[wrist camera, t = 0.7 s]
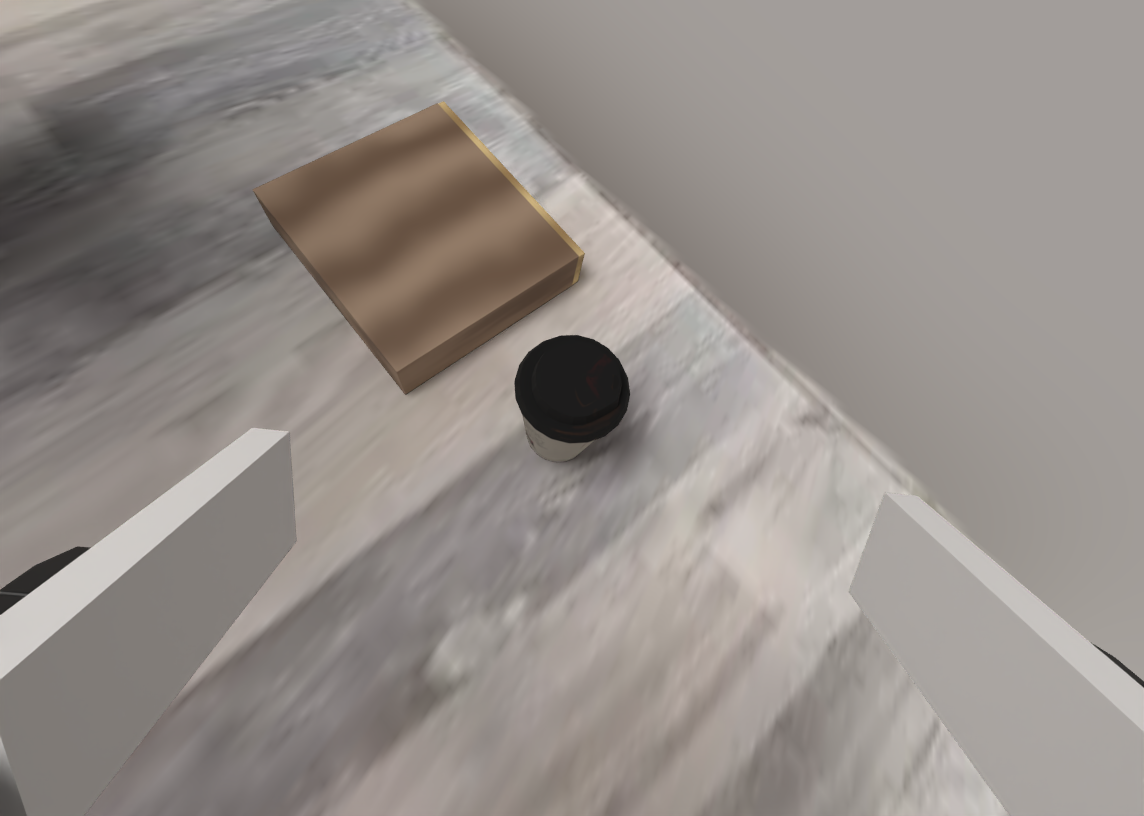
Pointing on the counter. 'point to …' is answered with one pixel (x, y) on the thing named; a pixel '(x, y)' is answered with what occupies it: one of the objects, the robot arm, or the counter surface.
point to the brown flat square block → (421, 241)
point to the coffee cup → (570, 395)
